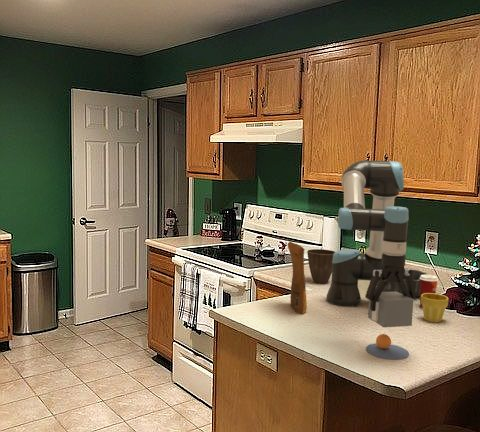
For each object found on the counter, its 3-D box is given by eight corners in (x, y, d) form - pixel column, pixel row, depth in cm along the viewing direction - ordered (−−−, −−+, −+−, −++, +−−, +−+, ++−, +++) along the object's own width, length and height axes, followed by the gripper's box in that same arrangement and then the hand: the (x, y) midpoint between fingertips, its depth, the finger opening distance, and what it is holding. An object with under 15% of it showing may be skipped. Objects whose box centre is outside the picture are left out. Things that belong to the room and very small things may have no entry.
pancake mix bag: (293, 315, 211) (296, 247, 207) (284, 302, 230) (287, 239, 226) (309, 315, 211) (312, 247, 208) (299, 302, 230) (302, 239, 227)
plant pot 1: (308, 277, 277) (309, 248, 275) (336, 280, 273) (338, 250, 271) (303, 284, 263) (305, 253, 261) (333, 287, 259) (335, 255, 257)
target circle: (358, 345, 180) (358, 344, 180) (394, 342, 183) (394, 342, 183) (379, 361, 166) (379, 360, 166) (417, 358, 170) (417, 357, 170)
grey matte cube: (368, 317, 177) (369, 292, 176) (394, 316, 180) (396, 291, 179) (383, 327, 167) (385, 300, 166) (411, 325, 170) (413, 299, 169)
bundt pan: (441, 296, 249) (442, 275, 248) (406, 303, 234) (407, 282, 233) (395, 283, 270) (397, 265, 269) (361, 290, 255) (362, 270, 254)
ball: (382, 343, 173) (377, 352, 176) (395, 342, 174) (390, 351, 177) (376, 331, 177) (371, 340, 180) (389, 330, 178) (384, 340, 181)
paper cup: (437, 310, 224) (439, 278, 222) (418, 309, 225) (421, 277, 224) (434, 305, 232) (436, 274, 230) (416, 304, 233) (418, 273, 231)
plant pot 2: (443, 325, 204) (445, 301, 203) (416, 320, 209) (418, 296, 208) (448, 319, 213) (450, 295, 212) (422, 314, 218) (424, 291, 217)
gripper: (367, 256, 164) (363, 324, 167) (431, 255, 170) (426, 321, 173) (356, 252, 172) (353, 317, 174) (417, 251, 177) (413, 314, 180)
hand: (389, 319), depth 173 cm, fingers closed on grey matte cube, 10 cm apart
